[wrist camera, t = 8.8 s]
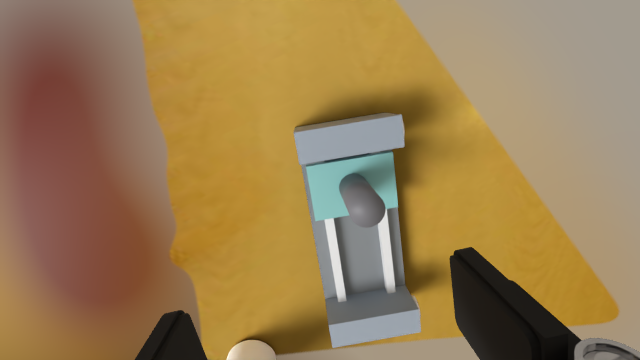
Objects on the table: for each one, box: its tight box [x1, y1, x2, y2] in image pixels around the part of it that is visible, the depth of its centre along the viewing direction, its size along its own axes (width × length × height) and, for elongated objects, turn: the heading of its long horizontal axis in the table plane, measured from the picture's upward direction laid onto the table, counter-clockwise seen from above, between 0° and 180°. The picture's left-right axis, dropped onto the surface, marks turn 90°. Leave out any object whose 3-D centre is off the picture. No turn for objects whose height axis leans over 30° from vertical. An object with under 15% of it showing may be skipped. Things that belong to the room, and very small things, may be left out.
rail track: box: [294, 113, 421, 348], centre depth 34 cm, size 24×10×6 cm, turn 9°
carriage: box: [306, 151, 398, 228], centre depth 29 cm, size 6×9×8 cm, turn 99°
